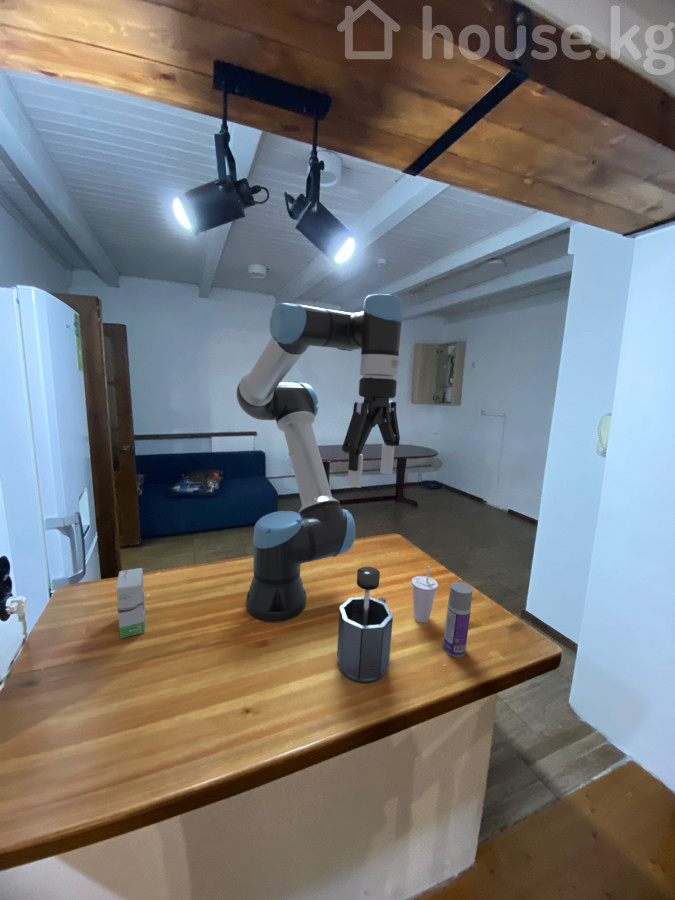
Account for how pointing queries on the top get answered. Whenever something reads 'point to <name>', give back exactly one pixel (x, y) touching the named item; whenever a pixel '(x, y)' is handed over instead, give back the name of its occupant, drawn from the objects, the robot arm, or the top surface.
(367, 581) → the plunger
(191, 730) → the top surface
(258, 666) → the top surface
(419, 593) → the smoothie
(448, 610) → the container
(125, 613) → the ink box
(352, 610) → the mug
